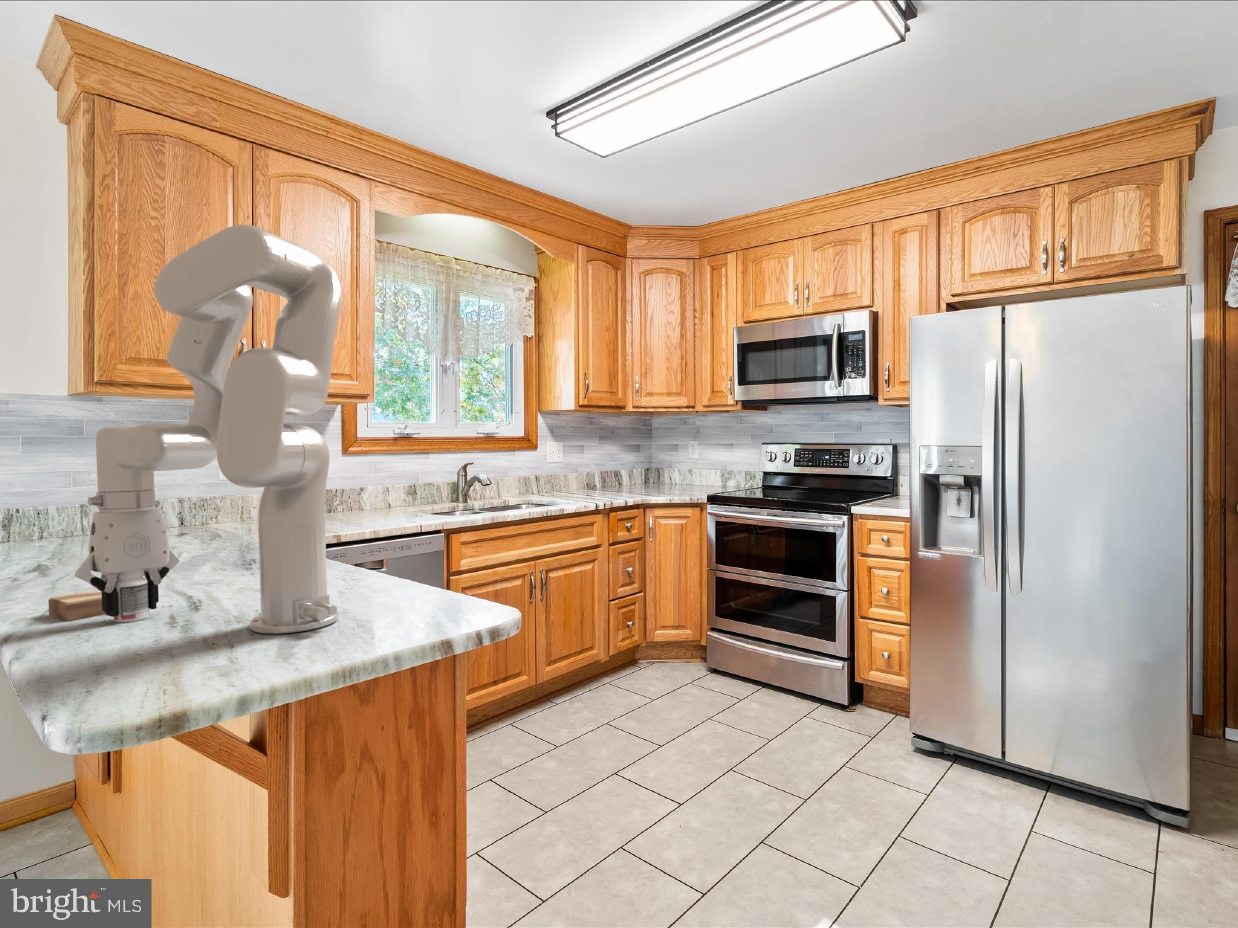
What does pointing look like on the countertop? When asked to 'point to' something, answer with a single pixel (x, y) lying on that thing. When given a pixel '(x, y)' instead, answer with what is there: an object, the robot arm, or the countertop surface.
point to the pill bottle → (132, 596)
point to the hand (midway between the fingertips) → (131, 610)
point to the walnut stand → (76, 605)
